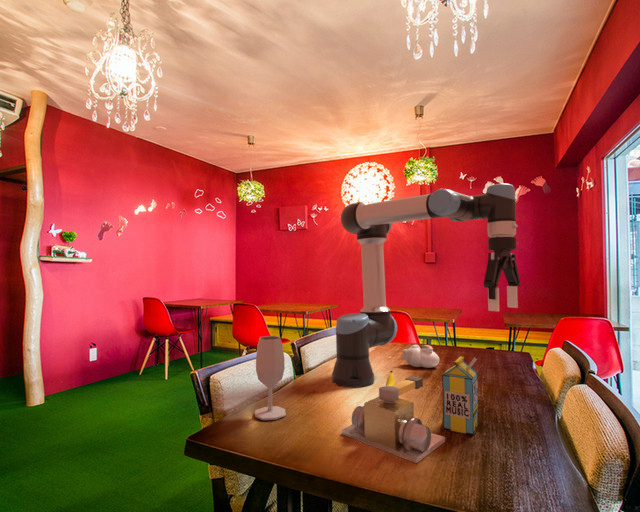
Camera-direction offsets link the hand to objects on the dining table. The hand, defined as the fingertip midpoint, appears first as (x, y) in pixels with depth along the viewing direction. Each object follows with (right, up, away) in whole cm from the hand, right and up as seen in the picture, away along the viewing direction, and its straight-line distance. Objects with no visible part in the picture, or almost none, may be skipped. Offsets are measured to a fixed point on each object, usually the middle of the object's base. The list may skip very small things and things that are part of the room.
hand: (503, 309), depth 108 cm
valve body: (-37, -27, -22) cm, 51 cm away
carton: (-18, -27, -17) cm, 37 cm away
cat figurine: (-13, -30, +43) cm, 54 cm away
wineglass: (-67, -28, -7) cm, 73 cm away
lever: (-34, -17, -20) cm, 43 cm away
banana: (-33, -28, +4) cm, 44 cm away
